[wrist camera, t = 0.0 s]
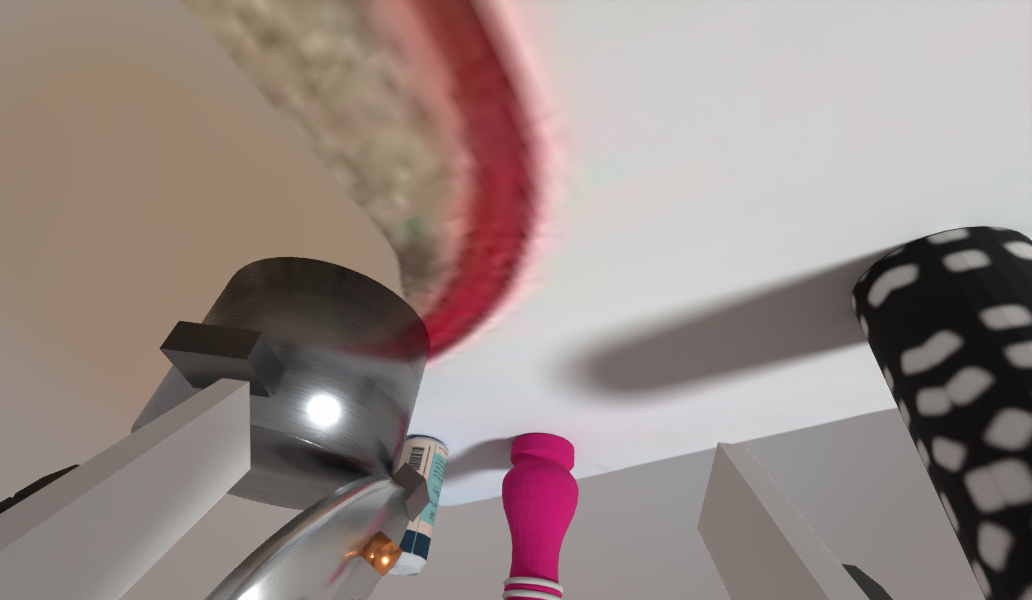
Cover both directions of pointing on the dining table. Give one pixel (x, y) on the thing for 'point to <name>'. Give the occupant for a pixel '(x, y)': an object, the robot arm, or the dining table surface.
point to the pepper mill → (538, 513)
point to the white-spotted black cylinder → (964, 384)
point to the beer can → (415, 544)
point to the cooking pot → (305, 374)
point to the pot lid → (333, 544)
